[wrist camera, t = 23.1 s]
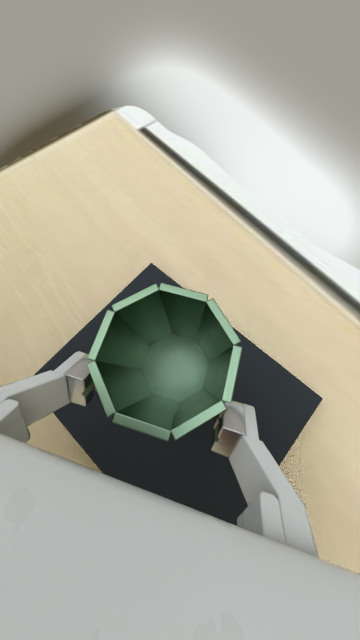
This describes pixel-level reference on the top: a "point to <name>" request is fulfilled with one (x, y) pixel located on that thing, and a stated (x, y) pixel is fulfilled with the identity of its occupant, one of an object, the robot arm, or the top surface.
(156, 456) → the mat
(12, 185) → the top surface
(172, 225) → the top surface
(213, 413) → the bucket
